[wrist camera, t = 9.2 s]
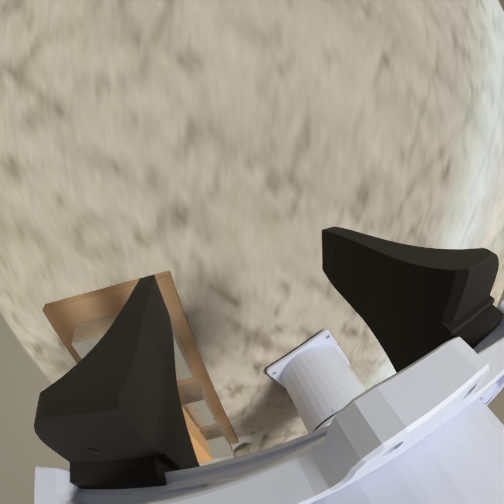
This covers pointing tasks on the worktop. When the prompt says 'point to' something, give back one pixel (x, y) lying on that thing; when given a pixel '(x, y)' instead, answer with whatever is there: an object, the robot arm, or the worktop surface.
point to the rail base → (112, 302)
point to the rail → (189, 393)
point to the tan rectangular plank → (198, 440)
